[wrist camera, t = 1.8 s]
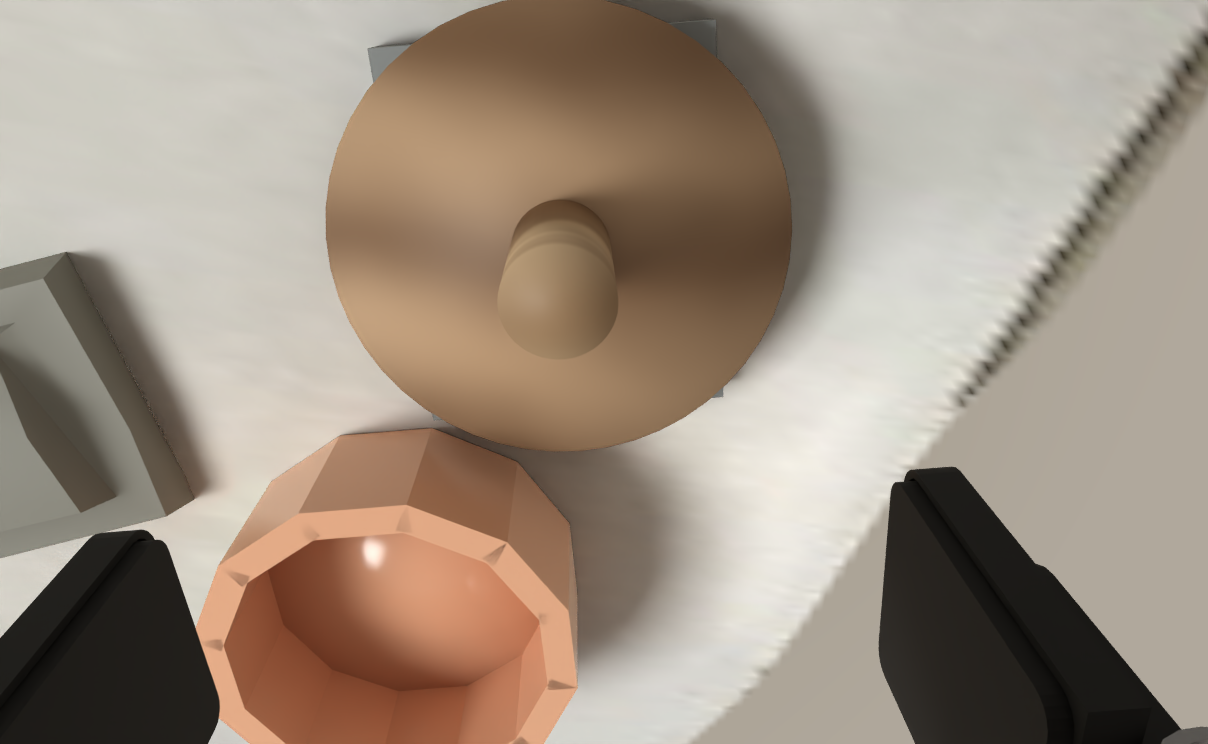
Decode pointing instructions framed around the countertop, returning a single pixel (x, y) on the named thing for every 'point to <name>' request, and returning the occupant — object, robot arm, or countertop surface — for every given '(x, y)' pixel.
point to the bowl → (396, 600)
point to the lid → (558, 223)
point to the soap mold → (71, 419)
